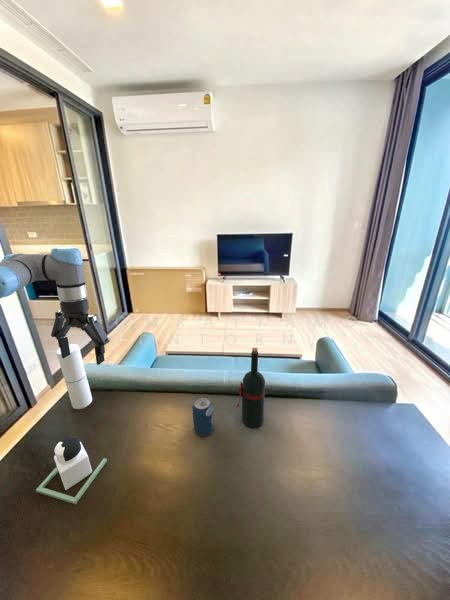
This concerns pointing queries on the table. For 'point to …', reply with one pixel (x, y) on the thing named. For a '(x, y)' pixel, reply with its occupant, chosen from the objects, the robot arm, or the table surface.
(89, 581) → the table surface
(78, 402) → the cylindrical container
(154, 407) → the table surface
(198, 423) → the soda can
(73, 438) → the medicine bottle
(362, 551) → the table surface
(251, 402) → the wine bottle
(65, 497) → the frame
